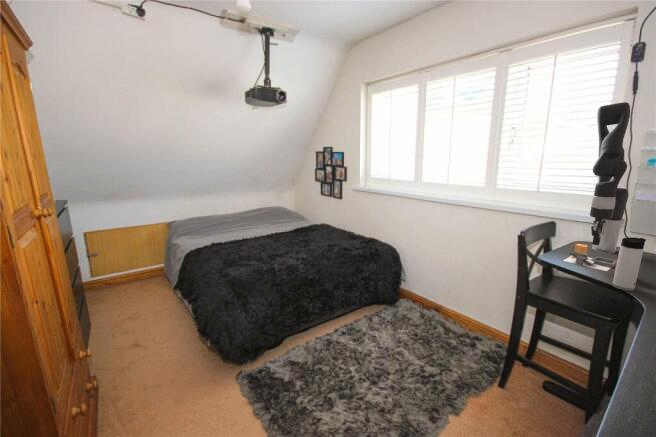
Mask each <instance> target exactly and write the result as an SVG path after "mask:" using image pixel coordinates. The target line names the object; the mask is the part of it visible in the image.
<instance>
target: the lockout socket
mask: <svg viewBox="0 0 656 437" xmlns="http://www.w3.org/2000/svg"><path fill="white" fill-rule="evenodd" d="M592 258H593V259H591V260H592V261H594V262H595V263H594V264H597V265H602V266H606V267H610V269H614V268H615V266H616V261H617V259H611V258H605V257H602V256H595V257H592ZM597 260H599V261H597ZM601 261H603V262H601ZM606 262H608V263H606ZM610 263H611V264H610Z"/></svg>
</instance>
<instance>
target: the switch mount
mask: <svg viewBox="0 0 656 437" xmlns="http://www.w3.org/2000/svg"><path fill="white" fill-rule="evenodd" d="M581 255H582V256H584V257H586V258H587V257H589V256H588V254H587V255H586V254H581ZM584 257H579V256H577V258H576V264H575V265H579V264H580V265H579V266H583V259H584Z"/></svg>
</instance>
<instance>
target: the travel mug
mask: <svg viewBox="0 0 656 437" xmlns="http://www.w3.org/2000/svg"><path fill="white" fill-rule="evenodd" d="M646 241H647V239H645V238H643V237H633V236H632V237H631V236H630V237H623V238H621V242H620V247H619V252H618V254H619V256H618V255H617V256H618V261H617V260H616V261H617V265H616V270H615V269H614V270H615V275H614V274H613V276H614V277H613V281H612V286H613V288H616V289H618V290H622V291H628V292H632V291H634V290H635V289H636V285H637V280H638V277H639V271H640V266H641V262H642V258H643V253H644V248H645V245H646V244H645V243H646Z"/></svg>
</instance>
